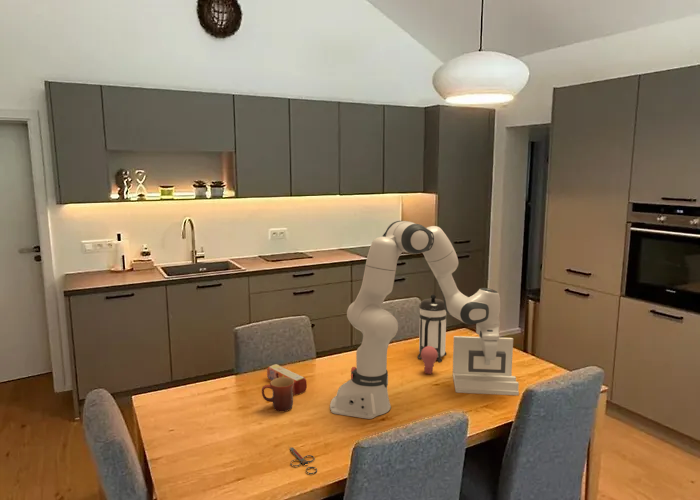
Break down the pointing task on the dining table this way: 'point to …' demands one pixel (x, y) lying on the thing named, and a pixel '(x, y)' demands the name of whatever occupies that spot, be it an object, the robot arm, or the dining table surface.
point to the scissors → (301, 459)
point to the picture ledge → (482, 380)
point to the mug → (281, 393)
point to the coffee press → (432, 326)
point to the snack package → (279, 371)
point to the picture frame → (478, 362)
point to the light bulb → (429, 358)
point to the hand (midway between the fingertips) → (486, 362)
